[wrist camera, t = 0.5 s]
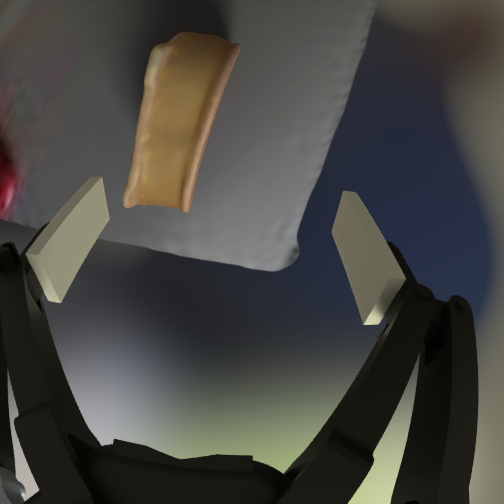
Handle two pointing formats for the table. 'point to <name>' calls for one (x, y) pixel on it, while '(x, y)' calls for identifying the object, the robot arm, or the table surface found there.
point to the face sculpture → (177, 118)
